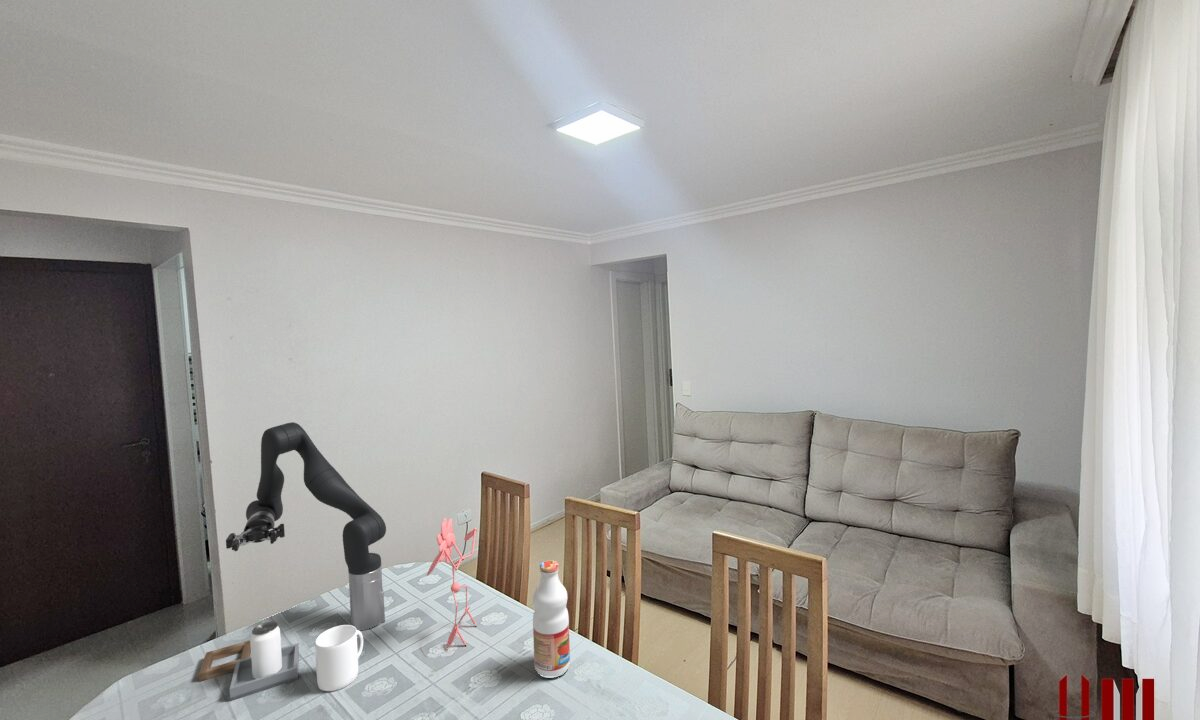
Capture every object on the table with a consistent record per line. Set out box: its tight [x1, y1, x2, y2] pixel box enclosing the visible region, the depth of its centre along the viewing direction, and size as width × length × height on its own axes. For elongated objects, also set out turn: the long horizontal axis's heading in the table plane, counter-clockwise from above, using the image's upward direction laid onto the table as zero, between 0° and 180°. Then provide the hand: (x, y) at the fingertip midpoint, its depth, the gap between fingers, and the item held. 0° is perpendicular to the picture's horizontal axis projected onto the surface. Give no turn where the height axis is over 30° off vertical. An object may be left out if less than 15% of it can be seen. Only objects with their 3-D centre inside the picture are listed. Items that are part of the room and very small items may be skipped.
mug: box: [314, 624, 364, 692], centre depth 125 cm, size 10×12×12 cm
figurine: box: [426, 517, 478, 649], centre depth 140 cm, size 15×26×35 cm, turn 176°
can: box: [250, 621, 282, 679], centre depth 126 cm, size 6×6×12 cm
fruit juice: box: [532, 559, 571, 676], centre depth 126 cm, size 9×9×28 cm
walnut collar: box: [198, 640, 251, 683], centre depth 131 cm, size 10×10×2 cm
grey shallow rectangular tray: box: [229, 642, 300, 702], centre depth 126 cm, size 14×12×3 cm
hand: (254, 544), depth 138 cm, fingers open, 8 cm apart
